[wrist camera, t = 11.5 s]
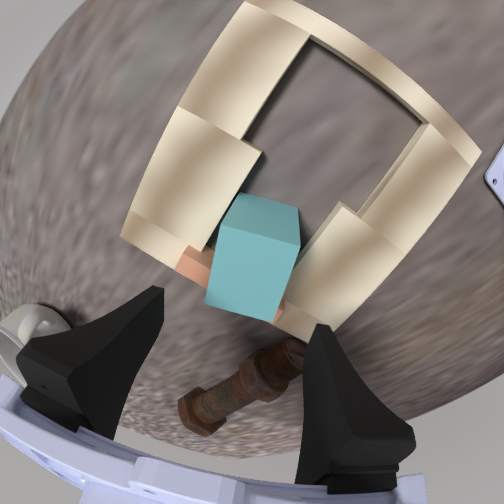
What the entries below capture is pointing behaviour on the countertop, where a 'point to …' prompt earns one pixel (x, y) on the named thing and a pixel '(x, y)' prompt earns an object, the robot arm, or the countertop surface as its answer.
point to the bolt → (243, 387)
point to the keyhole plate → (246, 154)
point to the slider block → (254, 257)
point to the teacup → (26, 331)
